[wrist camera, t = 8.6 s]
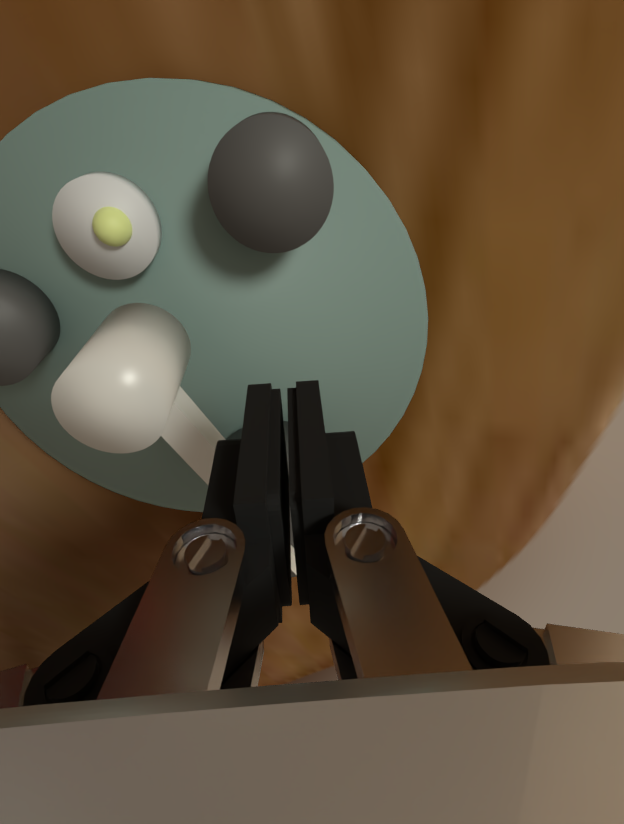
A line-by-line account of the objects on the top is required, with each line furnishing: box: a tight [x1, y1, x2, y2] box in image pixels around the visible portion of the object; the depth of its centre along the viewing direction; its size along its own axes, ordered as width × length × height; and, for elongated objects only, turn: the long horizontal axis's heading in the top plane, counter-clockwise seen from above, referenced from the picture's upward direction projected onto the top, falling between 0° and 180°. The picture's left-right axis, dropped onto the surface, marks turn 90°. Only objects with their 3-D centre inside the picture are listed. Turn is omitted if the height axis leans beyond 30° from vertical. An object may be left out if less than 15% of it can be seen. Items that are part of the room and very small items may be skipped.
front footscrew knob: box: [51, 303, 297, 577], centre depth 18 cm, size 13×6×6 cm, turn 29°
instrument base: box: [0, 78, 428, 512], centre depth 18 cm, size 18×18×4 cm
